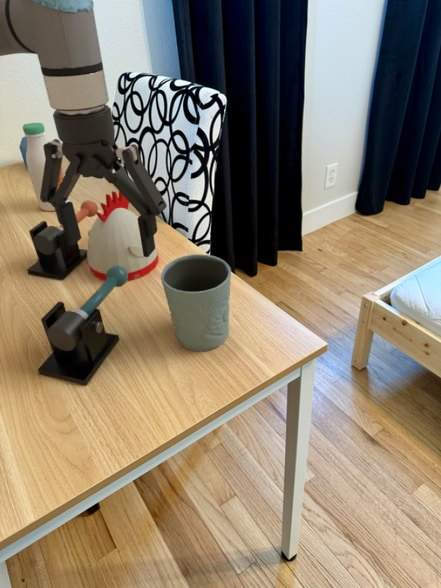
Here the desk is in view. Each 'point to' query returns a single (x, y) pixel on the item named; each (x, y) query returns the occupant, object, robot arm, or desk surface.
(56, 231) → the terracotta lever
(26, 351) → the desk surface
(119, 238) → the kitchen timer
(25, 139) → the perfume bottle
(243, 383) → the desk surface
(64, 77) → the robot arm
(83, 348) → the front stand
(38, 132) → the milk bottle
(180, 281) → the grey green cup
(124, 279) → the ball top lever
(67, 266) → the back stand
